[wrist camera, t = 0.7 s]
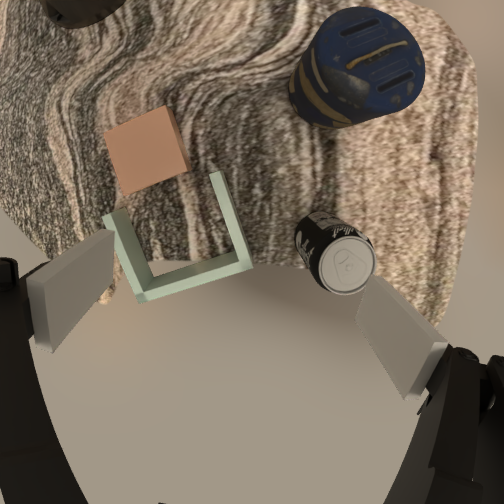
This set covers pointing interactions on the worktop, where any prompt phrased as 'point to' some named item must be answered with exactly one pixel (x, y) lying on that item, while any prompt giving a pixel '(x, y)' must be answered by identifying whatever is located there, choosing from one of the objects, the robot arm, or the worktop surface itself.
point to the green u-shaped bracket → (187, 276)
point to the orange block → (147, 150)
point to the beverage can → (335, 253)
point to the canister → (357, 70)
